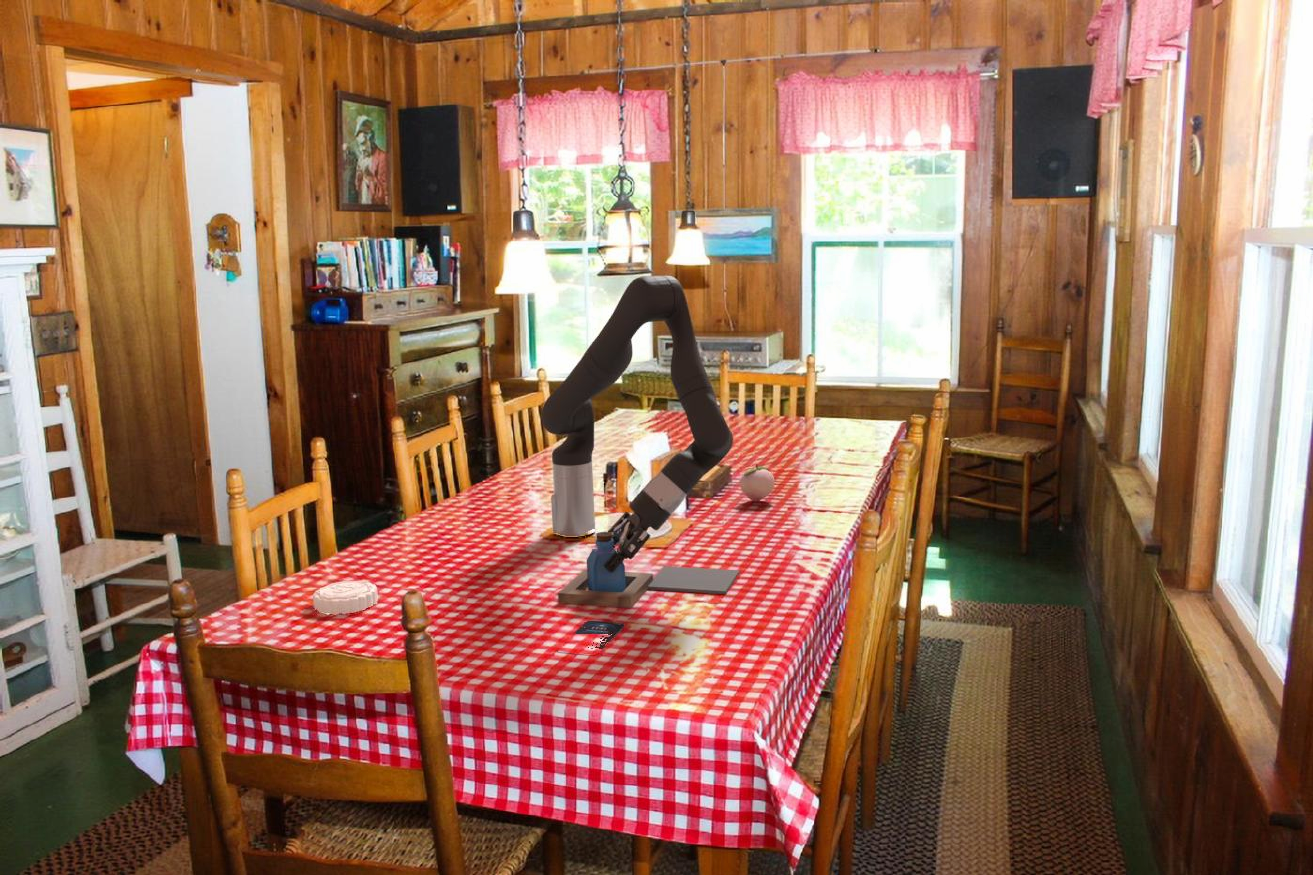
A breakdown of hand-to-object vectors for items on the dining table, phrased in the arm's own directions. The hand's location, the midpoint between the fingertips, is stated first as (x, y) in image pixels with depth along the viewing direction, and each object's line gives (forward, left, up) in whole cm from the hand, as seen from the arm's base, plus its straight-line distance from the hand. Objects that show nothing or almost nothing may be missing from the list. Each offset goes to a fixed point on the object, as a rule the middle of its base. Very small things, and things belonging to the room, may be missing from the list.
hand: (603, 563), depth 208 cm
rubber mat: (+15, +10, -6) cm, 20 cm away
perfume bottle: (0, 0, -6) cm, 6 cm away
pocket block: (0, 0, -6) cm, 6 cm away
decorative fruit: (+16, +74, -6) cm, 76 cm away
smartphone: (+5, -23, -7) cm, 24 cm away
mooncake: (-48, -16, -7) cm, 51 cm away
